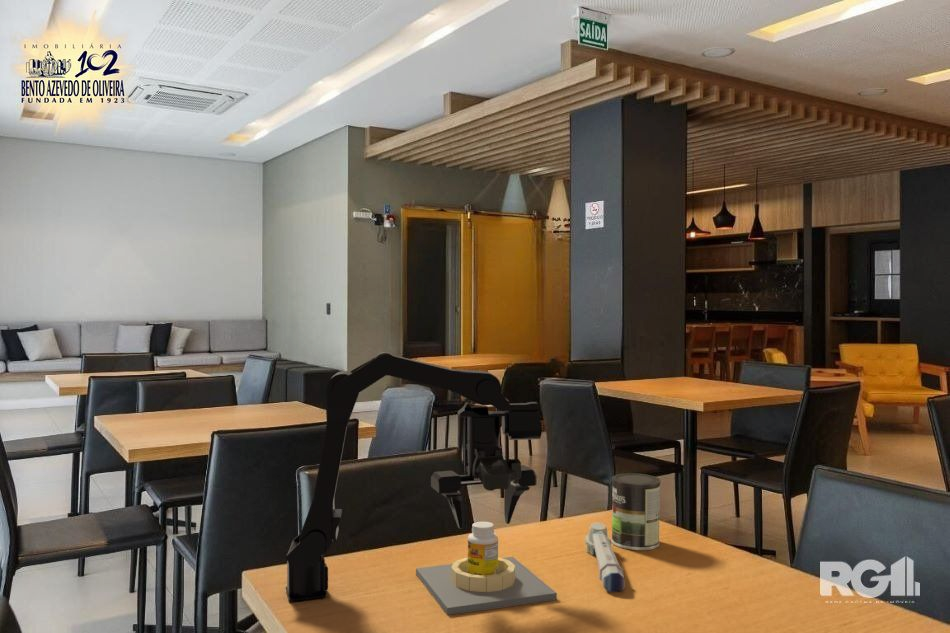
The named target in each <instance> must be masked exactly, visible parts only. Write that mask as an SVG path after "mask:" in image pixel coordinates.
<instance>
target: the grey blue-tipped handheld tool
mask: <svg viewBox="0 0 950 633" xmlns="http://www.w3.org/2000/svg"><path fill="white" fill-rule="evenodd" d="M584 542H585V545H586V553H588V554H590V556H594V557H596V561H597V566H598V569H599V570H598V571H599V574H598V576H599V578H598V579H599V580H600V582H602V586H603V588H604V589H605V590H606V591H607V593H612V592H613V593H620V592H622V591H623V590H624V589H625V587H626V586H625V583H626V582H625V577H624V571H625V570H624V569H623V567H621V566H620V563H619V561H618V560H617V559H618V558H617V556H616V554H615V551H614V550H613V547H612V538H611V537H610V536H609V535H608V528H607V525H606V524H605V523H602V522H596V521H594V522H591V523H590V526H589V528H588V533H587V534H586V536H585V537H584Z"/></svg>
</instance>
